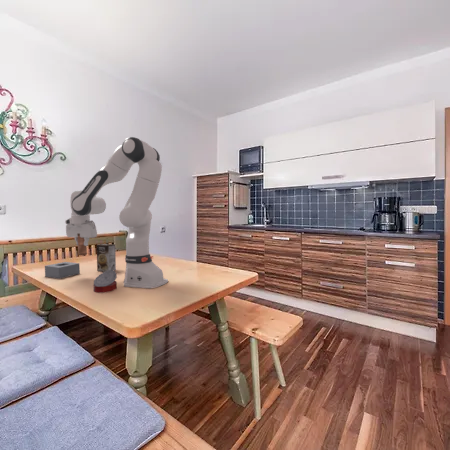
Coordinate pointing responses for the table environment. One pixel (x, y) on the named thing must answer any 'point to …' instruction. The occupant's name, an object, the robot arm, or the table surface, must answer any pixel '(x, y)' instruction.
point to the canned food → (105, 282)
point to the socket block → (62, 270)
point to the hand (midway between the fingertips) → (82, 245)
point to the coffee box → (106, 257)
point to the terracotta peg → (81, 246)
